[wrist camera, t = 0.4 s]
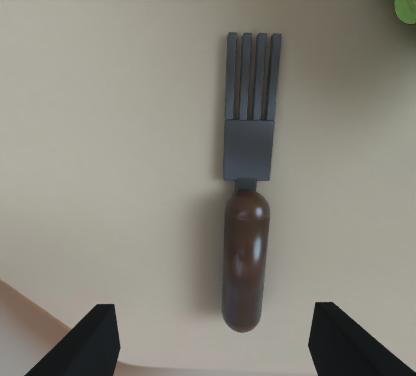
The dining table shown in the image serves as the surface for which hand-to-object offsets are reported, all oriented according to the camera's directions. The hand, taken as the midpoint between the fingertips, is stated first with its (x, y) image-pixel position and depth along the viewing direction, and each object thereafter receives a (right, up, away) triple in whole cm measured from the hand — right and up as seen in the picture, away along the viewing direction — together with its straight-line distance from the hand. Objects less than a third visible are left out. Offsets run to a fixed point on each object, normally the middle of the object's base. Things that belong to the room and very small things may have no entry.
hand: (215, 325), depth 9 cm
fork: (+2, +4, +9) cm, 10 cm away
